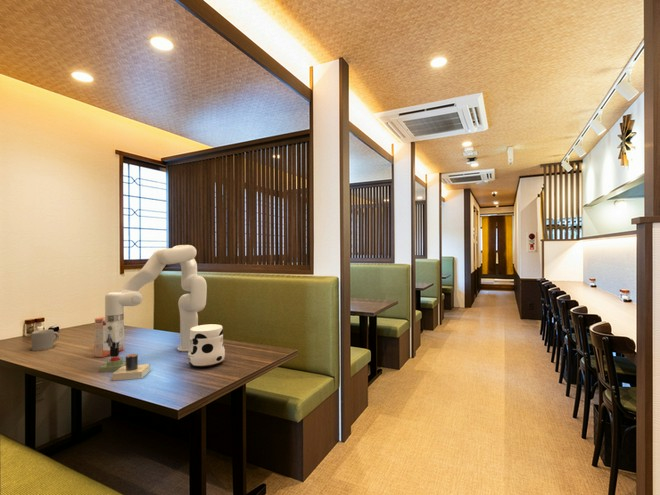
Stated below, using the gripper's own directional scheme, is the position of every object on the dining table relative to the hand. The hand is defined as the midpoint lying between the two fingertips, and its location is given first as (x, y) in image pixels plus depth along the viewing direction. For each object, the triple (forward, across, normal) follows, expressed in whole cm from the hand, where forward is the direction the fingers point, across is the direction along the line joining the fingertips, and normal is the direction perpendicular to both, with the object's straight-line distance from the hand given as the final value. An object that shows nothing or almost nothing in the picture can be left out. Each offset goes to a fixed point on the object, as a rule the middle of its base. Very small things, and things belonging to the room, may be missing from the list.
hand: (114, 356), depth 163 cm
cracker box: (+6, +27, +14) cm, 31 cm away
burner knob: (+3, -12, -12) cm, 17 cm away
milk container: (+6, -3, -43) cm, 44 cm away
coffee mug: (+6, +49, +58) cm, 76 cm away
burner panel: (+6, -12, -12) cm, 18 cm away
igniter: (+6, 0, 0) cm, 6 cm away
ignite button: (+2, 0, 0) cm, 2 cm away
